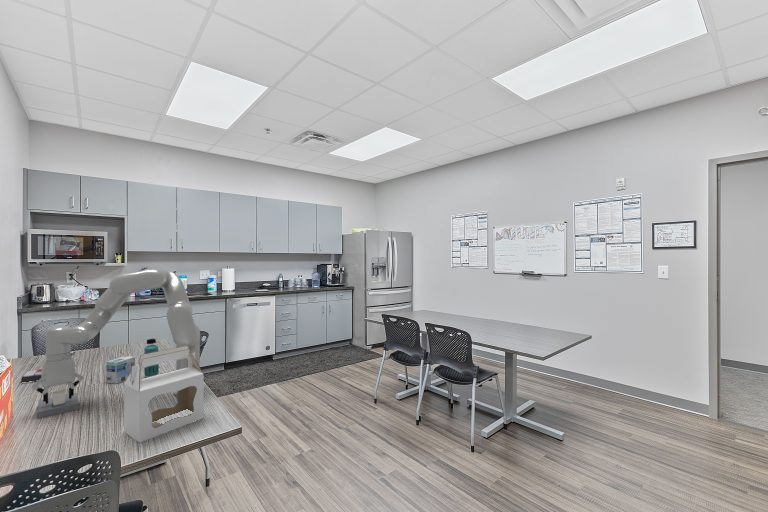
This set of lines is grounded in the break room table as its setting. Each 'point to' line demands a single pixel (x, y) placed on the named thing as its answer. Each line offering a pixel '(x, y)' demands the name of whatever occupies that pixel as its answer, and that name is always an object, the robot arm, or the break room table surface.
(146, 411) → the gable box
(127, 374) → the light bulb box
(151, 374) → the beverage bottle
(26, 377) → the sushi tray
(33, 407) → the break room table surface
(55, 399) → the plug
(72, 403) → the socket plate
